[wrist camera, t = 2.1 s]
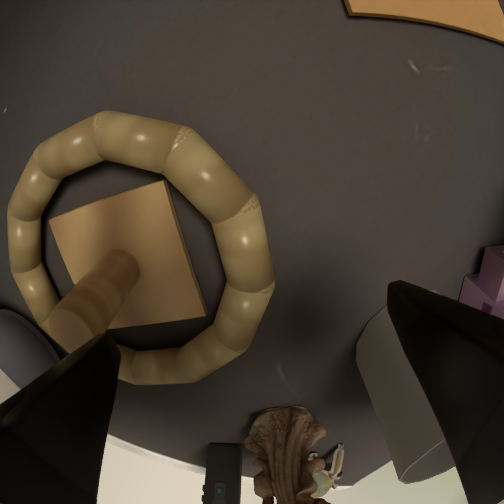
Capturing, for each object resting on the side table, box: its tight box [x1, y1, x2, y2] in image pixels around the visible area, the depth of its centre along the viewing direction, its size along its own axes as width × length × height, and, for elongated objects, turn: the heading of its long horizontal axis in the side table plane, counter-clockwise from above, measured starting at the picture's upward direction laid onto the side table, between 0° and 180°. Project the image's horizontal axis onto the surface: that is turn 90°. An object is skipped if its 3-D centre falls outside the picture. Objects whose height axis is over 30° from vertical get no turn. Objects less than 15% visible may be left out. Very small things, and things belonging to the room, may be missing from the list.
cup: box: [356, 290, 455, 484], centre depth 14 cm, size 8×8×10 cm
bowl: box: [0, 309, 61, 404], centre depth 15 cm, size 16×16×10 cm
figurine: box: [245, 406, 331, 504], centre depth 15 cm, size 7×6×15 cm
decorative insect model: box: [307, 444, 344, 498], centre depth 25 cm, size 9×11×5 cm
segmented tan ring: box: [7, 111, 275, 385], centre depth 15 cm, size 17×17×2 cm
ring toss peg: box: [48, 179, 208, 352], centre depth 13 cm, size 8×8×7 cm
